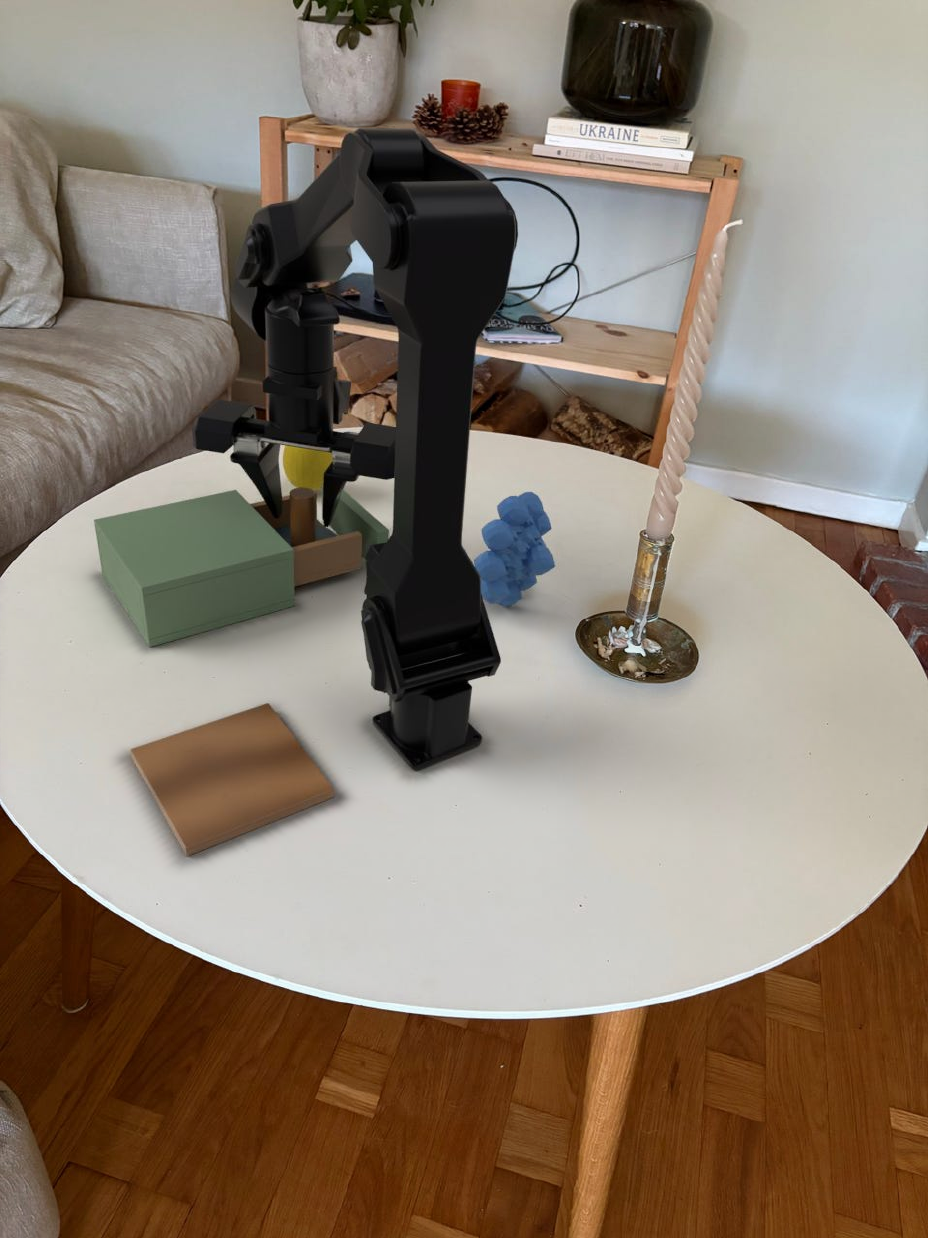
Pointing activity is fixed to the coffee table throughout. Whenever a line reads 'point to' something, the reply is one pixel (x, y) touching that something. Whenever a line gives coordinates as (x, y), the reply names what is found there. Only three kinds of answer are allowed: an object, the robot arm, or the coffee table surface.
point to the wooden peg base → (229, 777)
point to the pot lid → (303, 520)
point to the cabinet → (195, 565)
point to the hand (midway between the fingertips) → (302, 520)
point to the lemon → (305, 466)
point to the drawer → (331, 539)
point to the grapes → (514, 549)
